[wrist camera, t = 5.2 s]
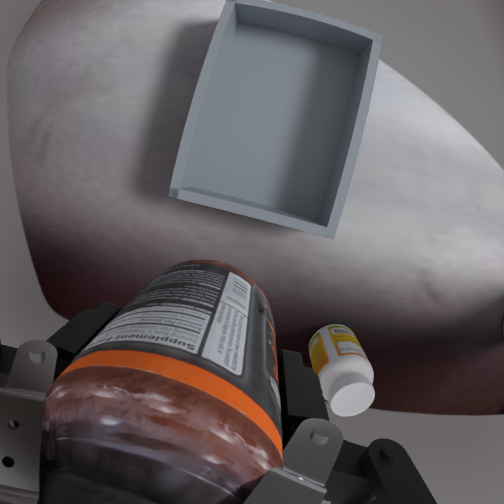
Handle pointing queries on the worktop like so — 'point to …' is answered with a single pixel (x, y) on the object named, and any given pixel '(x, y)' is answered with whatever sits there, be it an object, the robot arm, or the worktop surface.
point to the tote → (278, 116)
